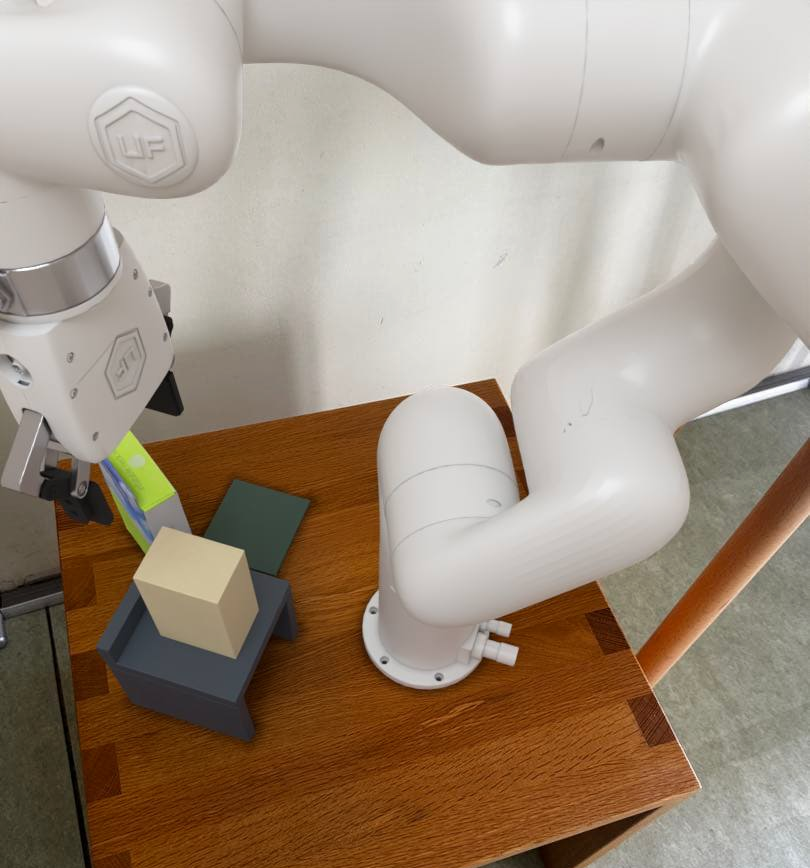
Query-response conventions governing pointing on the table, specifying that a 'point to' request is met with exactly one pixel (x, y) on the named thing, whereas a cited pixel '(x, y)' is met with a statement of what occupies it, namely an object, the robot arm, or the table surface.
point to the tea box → (198, 591)
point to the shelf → (194, 661)
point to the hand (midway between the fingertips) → (128, 460)
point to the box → (142, 492)
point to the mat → (258, 524)
